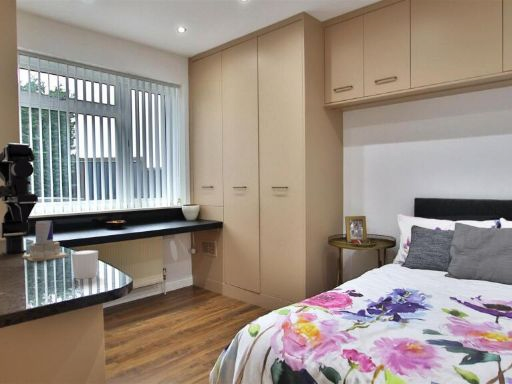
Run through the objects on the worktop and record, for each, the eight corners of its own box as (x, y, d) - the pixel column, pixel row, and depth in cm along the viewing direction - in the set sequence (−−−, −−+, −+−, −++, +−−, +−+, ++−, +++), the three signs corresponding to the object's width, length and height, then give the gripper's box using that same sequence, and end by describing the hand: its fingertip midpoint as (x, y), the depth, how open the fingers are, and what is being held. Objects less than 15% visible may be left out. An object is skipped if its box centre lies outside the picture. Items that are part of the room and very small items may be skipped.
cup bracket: (22, 257, 128) (22, 243, 128) (55, 253, 136) (55, 240, 136) (33, 261, 121) (33, 247, 121) (67, 256, 129) (67, 243, 129)
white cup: (71, 280, 96) (71, 255, 96) (71, 275, 102) (71, 251, 102) (99, 277, 99) (99, 252, 99) (97, 272, 106) (97, 248, 105)
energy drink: (56, 253, 131) (56, 220, 131) (46, 256, 126) (45, 222, 125) (43, 252, 131) (42, 220, 131) (32, 255, 126) (31, 222, 126)
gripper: (-16, 178, 127) (-15, 222, 127) (-1, 177, 115) (0, 225, 115) (20, 178, 136) (20, 219, 136) (38, 177, 124) (38, 222, 124)
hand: (19, 221), depth 127 cm, fingers open, 9 cm apart
